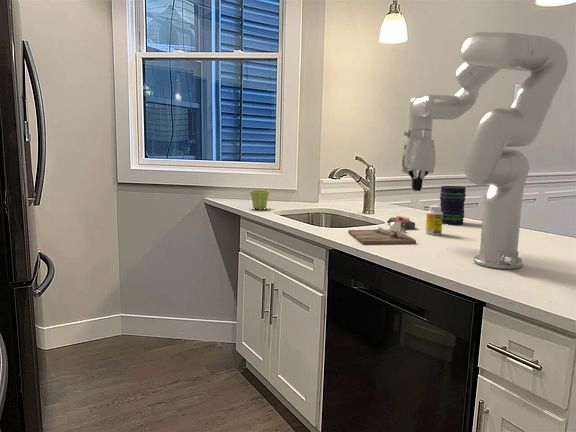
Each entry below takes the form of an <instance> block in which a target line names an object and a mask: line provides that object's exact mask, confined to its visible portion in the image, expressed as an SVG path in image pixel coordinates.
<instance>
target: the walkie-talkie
mask: <svg viewBox="0 0 576 432" xmlns="http://www.w3.org/2000/svg"><path fill="white" fill-rule="evenodd" d="M390 222H400V223H401V232H402V231H403V232H407V230H415V228H416V223H415V222H414V221H412V220H410V218H409V217H408V216H402V215H397V216H396V217H390V218H389V219H388V220H386V223H388V225H389V226H390Z"/></svg>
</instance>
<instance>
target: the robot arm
mask: <svg viewBox="0 0 576 432" xmlns="http://www.w3.org/2000/svg"><path fill="white" fill-rule="evenodd" d="M460 52H461V53H460V54H461V55H460V56H461V58H462V60H463V63H462V64H460V65H459V67H458V68H457V69H456V71H455V77H456V80H457V83H458V84H459V85H460V87H461V88H460V89H459V90H458V91H457V92H456V93H455V94H454V95H448V94H447V95H446V94H428V95H424V96H415V97H412V98H411V99H410V102H409V114H408V130H407V131H404V132H403V133H404V134H403V136H405V137H407V139H406V140H405V142H404V146H403V152H402V161H401V163H402V164H401V166H402V169H401V173H403V174H408V176H409V177H410V179H411V188H412V191H414V192H421V191H422V188H423V180H424V179H425V177H426V176H427V175H431V174H433V173H434V169H435V168H436V146H435V139H432V135H433V133H432V132H433V120H445V121H447V120H450V121H451V120H457V119H459V118H460V117H462V116H463V115H464V114H465V113H467V112H468V111H469V110H470V109H471V108H473V106H474V105H475V103H476V102H477V99H478V97H479V95H480V88H482V86H484V85H485V84H486V83H487V82H488V81H490V79H491V78H493V77H494V76H495V75H496V74H497V73H499V71H501V70H510V71H511V70H513V71H525V72H529V73H530V74H529V76H528V77H527V78H526V79H525V80H524V81H523V82H522V84H520V86H519V87H518V89H517V91H516V93H515V96H514V99H513V101H512V103H511V105H510V107H509V108H502V107H500V108H494V109H492V110H489V111H488V112H487V113H485V115H483V117H482V118H481V119H480V121H479V123H478V124H477V128H476V130H475V133H474V135H473V138H472V141H471V143H470V146H469V149H468V151H467V154H466V156H465V157H466V158H465V161H464V166H463V167H464V169H463V170H464V175H465V177H466V179H467V180H468V181H469V182H470V183H471V184H474V185H477V186H488V188H487V190H486V192H485V195H484V199H483V207H482V218H481V219H482V220H481V222H482V223H481V231H480V232H481V233H480V246H479V247H480V248H479V249H480V250H479V254H478V255H475V256H473V262H474V263H475V264H477V265H480V266H483V267H487V268H491V269H501V270H502V269H504V270H514V269H520V268H522V267H523V264H524V262H523V259H522V258H521V257H519V251H518V248H519V237H520V227H521V217H522V216H521V214H522V213H521V212H522V207H523V198H524V197H523V195H524V190H525V185H526V182H527V179H528V176H529V171H530V164H529V163H530V162H529V159H528V157H527V156H526V154H525V153H523V152H522V151H520V150H517V149H514V148H515V147H516V148H517V147H521V148H522V147H526V146H530V145H531V144H533V142H535V140H536V139H537V138H538V135H539V133H540V130H541V128H542V127H543V124H544V121H545V119H546V118H547V114H548V112H549V110H550V107H551V104H552V102H553V100H554V98H555V96H556V94H557V92H558V90H559V88H560V86H561V85H562V83H563V81H564V79H565V76H566V74H567V70H568V66H569V65H568V64H569V58H568V55H567V51H566V49H565V47H564V46H563V45H562V44H561V43H560V42H559V41H557V40H556V39H553V38H550V37H547V36H541V35H538V34H537V35H534V34H527V33H526V34H525V33H520V32H508V31H506V32H505V31H504V32H501V31H500V32H497V31H496V32H495V31H494V32H492V31H491V32H488V31H479V32H478V31H477V32H475V33H473V34H471V35H469V36H468V37H467V39H465V41H464V43H463V44H462V47H461V51H460ZM506 147H508V148H506ZM509 147H510V148H509ZM511 147H512V148H511ZM513 147H514V148H513Z"/></svg>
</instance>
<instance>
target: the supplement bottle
mask: <svg viewBox="0 0 576 432" xmlns="http://www.w3.org/2000/svg"><path fill="white" fill-rule="evenodd" d="M428 209H429V210H428V211H426V220H425V221H426V222H425V233H426V234H427V235H431V236H440V235H442V230H443V224H442V219H443V212H441V206H440V205H429V208H428Z"/></svg>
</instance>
